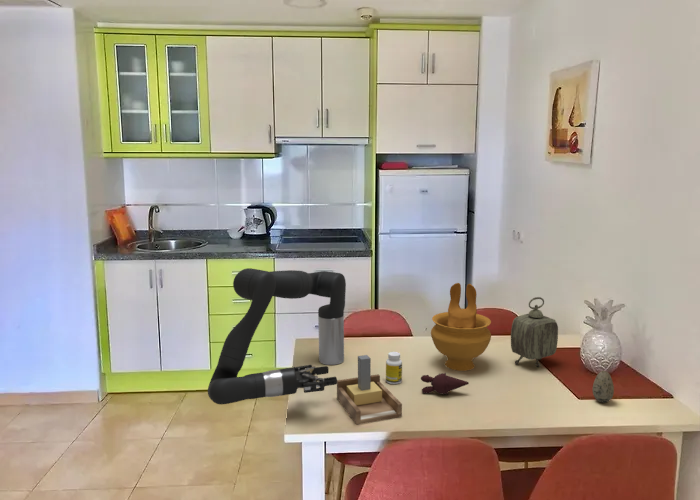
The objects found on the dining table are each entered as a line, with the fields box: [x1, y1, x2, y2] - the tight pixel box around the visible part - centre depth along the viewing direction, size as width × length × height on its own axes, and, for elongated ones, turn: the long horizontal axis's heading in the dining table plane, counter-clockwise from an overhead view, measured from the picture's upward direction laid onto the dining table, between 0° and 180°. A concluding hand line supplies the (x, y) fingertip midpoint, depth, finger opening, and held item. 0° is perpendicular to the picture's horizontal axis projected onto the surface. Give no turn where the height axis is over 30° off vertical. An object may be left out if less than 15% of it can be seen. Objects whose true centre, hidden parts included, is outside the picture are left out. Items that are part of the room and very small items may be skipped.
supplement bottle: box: [385, 351, 403, 385], centre depth 190 cm, size 5×5×10 cm
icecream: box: [420, 372, 470, 395], centre depth 181 cm, size 7×7×15 cm
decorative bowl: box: [430, 282, 492, 372], centre depth 202 cm, size 21×21×30 cm
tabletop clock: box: [510, 296, 559, 368], centre depth 202 cm, size 14×9×25 cm, turn 115°
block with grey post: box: [347, 354, 382, 406], centre depth 174 cm, size 7×9×14 cm
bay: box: [336, 373, 403, 425], centre depth 171 cm, size 18×14×6 cm
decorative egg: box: [592, 370, 615, 404], centre depth 174 cm, size 6×6×10 cm
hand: (332, 374), depth 170 cm, fingers open, 8 cm apart
